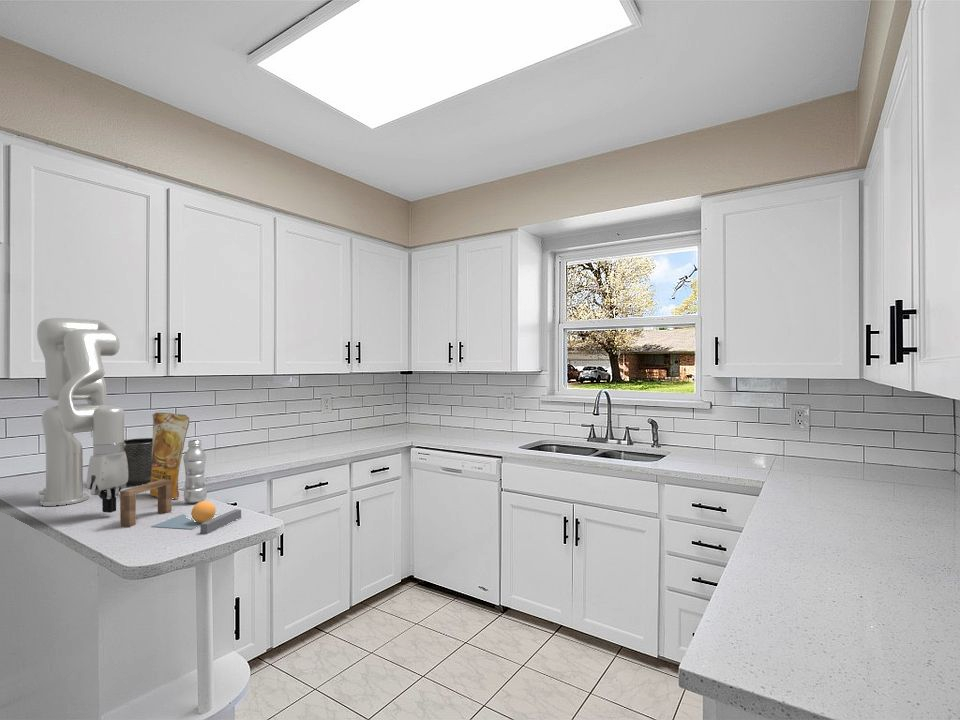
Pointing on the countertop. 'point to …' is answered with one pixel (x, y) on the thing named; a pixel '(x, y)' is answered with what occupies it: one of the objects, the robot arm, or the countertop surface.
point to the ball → (203, 511)
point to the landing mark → (178, 523)
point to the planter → (139, 460)
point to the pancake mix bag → (168, 448)
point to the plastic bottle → (194, 473)
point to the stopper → (219, 521)
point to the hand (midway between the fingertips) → (109, 511)
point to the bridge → (130, 500)
